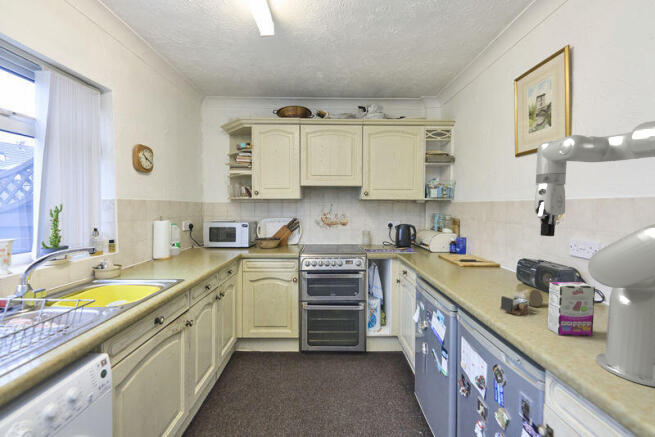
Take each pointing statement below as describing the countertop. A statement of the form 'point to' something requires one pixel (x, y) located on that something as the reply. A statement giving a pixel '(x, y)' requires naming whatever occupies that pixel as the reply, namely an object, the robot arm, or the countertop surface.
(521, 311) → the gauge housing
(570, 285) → the candy bar box
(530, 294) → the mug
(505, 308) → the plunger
